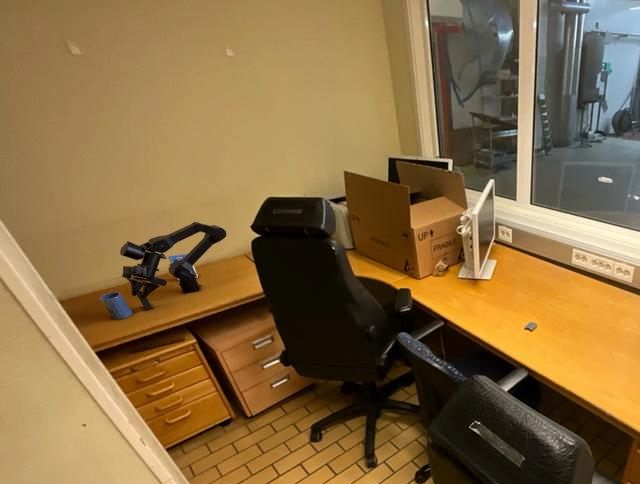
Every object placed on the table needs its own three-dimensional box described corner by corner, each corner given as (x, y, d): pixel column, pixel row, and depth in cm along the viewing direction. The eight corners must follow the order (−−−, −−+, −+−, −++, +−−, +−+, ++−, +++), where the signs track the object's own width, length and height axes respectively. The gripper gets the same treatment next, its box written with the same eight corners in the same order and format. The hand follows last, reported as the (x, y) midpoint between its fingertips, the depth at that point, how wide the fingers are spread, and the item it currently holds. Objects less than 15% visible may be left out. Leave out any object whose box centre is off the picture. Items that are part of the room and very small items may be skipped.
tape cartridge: (177, 281, 203) (166, 259, 196) (178, 278, 206) (167, 256, 199) (197, 277, 207) (187, 256, 200) (198, 275, 210) (188, 253, 203)
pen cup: (133, 310, 180) (121, 290, 174) (130, 317, 175) (118, 297, 169) (114, 313, 177) (101, 294, 171) (110, 320, 172) (97, 301, 166)
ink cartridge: (153, 308, 181) (144, 293, 176) (147, 310, 179) (138, 295, 175) (149, 305, 183) (141, 290, 179) (144, 307, 182) (134, 291, 177)
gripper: (114, 255, 173) (102, 288, 171) (146, 260, 169) (134, 294, 167) (141, 264, 184) (130, 295, 181) (172, 269, 180) (161, 301, 177)
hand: (138, 296), depth 176 cm, fingers closed on ink cartridge, 5 cm apart
